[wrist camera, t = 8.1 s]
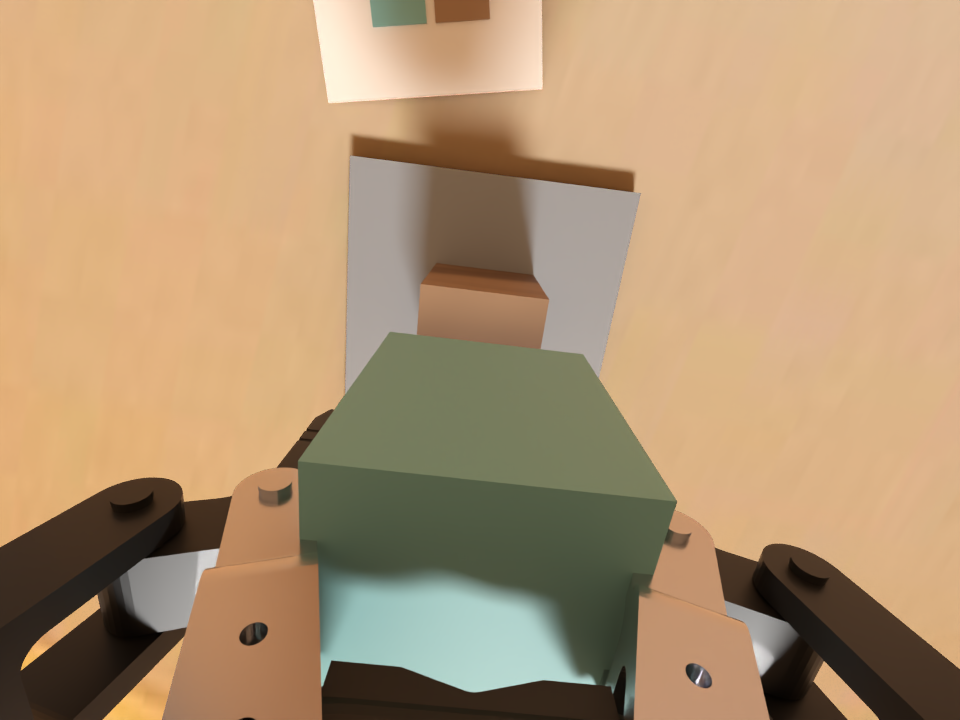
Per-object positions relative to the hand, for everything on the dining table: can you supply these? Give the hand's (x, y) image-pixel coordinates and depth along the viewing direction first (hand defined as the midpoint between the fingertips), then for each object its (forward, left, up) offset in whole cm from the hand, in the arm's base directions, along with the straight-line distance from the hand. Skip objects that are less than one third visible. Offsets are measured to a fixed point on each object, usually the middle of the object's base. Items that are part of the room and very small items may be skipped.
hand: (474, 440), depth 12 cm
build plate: (0, 0, -14) cm, 14 cm away
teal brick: (0, 0, -1) cm, 1 cm away
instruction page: (-14, -4, -14) cm, 20 cm away
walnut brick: (0, 0, -13) cm, 13 cm away
